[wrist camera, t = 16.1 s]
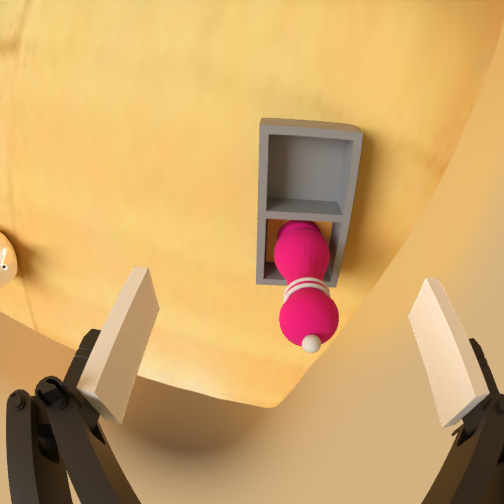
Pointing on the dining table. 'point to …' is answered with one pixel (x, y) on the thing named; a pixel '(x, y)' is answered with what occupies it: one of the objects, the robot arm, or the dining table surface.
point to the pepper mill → (305, 285)
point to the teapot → (7, 261)
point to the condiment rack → (305, 187)
